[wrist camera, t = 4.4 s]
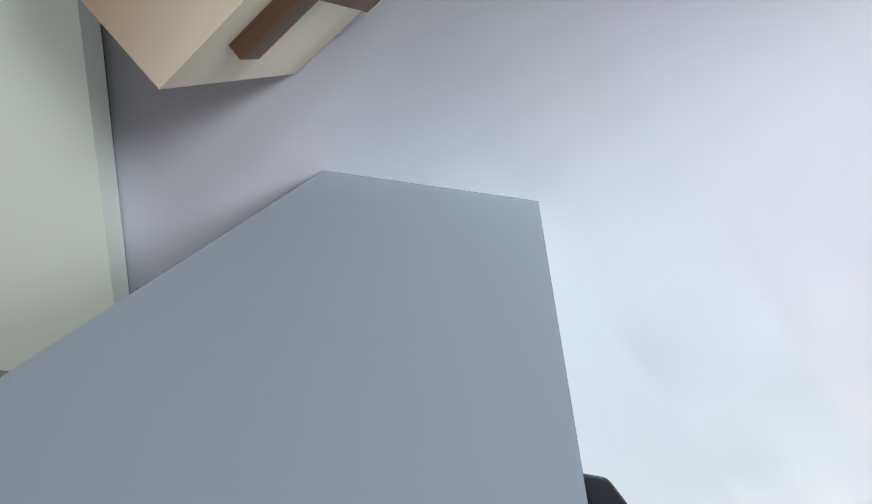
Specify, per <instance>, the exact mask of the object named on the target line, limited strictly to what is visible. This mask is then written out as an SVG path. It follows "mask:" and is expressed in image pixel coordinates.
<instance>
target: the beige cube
mask: <svg viewBox="0 0 872 504" xmlns="http://www.w3.org/2000/svg"><path fill="white" fill-rule="evenodd" d="M81 1H82V2H83V3H84V5H85V6H86V7H87V8H88V9H89V10H90V11H91V13H92V14H93V15H94V16H95V17H96V18H97V19H98V21H99V22H100V23H101V24H102V25H103V26H104V27H105V29H106V30H107V31H108V32H109V33H110V34H111V35H112V37H113V38H114V39H115V40H116V41H117V42H118V43H119V45H120V46H121V47H122V48H123V49H124V50H125V51H126V53H127V54H128V55H129V56H130V57H131V58H132V59H133V61H134V62H135V63H136V64H137V65H138V66H139V67H140V68H141V70H142V71H143V72H144V73H145V74H146V75H147V76H148V78H149V79H150V80H151V81H152V82H153V83H154V84H155V86H156V87H157V88H158V89H168V88H177V87H185V86H194V85H203V84H212V83H220V82H229V81H238V80H246V79H255V78H264V77H272V76H281V75H290V74H296V73H297V72H298V71H299V70H300V69H301V68H303V67H304V66H305V65H306V64H307V63H308V62H309V61H310V60H311V59H312V58H313V57H314V56H315V55H316V54H317V53H318V52H320V51H321V50H322V49H323V48H324V47H325V46H326V45H327V44H328V43H329V42H330V41H331V40H332V39H333V38H334V37H336V36H337V35H338V34H339V33H340V32H341V31H342V30H343V29H344V28H345V27H346V26H347V25H348V24H349V23H350V22H351V21H353V20H354V19H355V18H356V17H357V16H358V15H359V14H360V13H361V12H362V11H364V12H368V11H369V10H370V9H371V8H373V7H374V6H375V5H376V4H377V3H378V2H379V1H380V0H81Z"/></svg>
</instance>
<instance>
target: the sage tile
mask: <svg viewBox="0 0 872 504" xmlns="http://www.w3.org/2000/svg"><path fill="white" fill-rule="evenodd" d="M128 295H129V285H128V276H127V267H126V258H125V248H124V239H123V230H122V221H121V211H120V202H119V193H118V184H117V175H116V165H115V156H114V147H113V138H112V128H111V119H110V110H109V101H108V91H107V82H106V73H105V64H104V54H103V45H102V36H101V27H100V22H99V21H98V19H97V18H96V17H95V16H94V15H93V14H92V13H91V11H90V10H89V9H88V8H87V7H86V6H85V5H84V3H83V2H82V1H81V0H0V370H2V371H8V372H9V371H11V370H13V369H14V368H16V367H17V366H19V365H20V364H22V363H23V362H25V361H27V360H28V359H30V358H31V357H33V356H34V355H36V354H37V353H39V352H41V351H42V350H44V349H45V348H47V347H48V346H50V345H52V344H53V343H55V342H56V341H58V340H59V339H61V338H62V337H64V336H66V335H67V334H69V333H70V332H72V331H73V330H75V329H77V328H78V327H80V326H81V325H83V324H84V323H86V322H87V321H89V320H91V319H92V318H94V317H95V316H97V315H98V314H100V313H101V312H103V311H105V310H106V309H108V308H109V307H111V306H112V305H114V304H116V303H117V302H119V301H120V300H122V299H123V298H125V297H126V296H128Z"/></svg>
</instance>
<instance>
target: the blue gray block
mask: <svg viewBox="0 0 872 504" xmlns="http://www.w3.org/2000/svg"><path fill="white" fill-rule="evenodd" d="M0 504H588V501H587V495H586V489H585V483H584V477H583V471H582V465H581V459H580V453H579V446H578V440H577V434H576V428H575V422H574V416H573V410H572V404H571V398H570V392H569V386H568V380H567V374H566V367H565V361H564V355H563V349H562V343H561V337H560V331H559V325H558V319H557V313H556V307H555V301H554V295H553V289H552V282H551V276H550V270H549V264H548V258H547V252H546V246H545V240H544V234H543V228H542V222H541V216H540V210H539V204H538V201H533V200H526V199H519V198H512V197H505V196H498V195H491V194H484V193H477V192H470V191H463V190H456V189H449V188H442V187H435V186H428V185H421V184H414V183H407V182H400V181H393V180H385V179H378V178H371V177H364V176H357V175H350V174H343V173H336V172H329V171H322V172H320V173H318V174H317V175H315V176H314V177H312V178H311V179H309V180H308V181H306V182H304V183H303V184H301V185H300V186H298V187H297V188H295V189H293V190H292V191H290V192H289V193H287V194H286V195H284V196H283V197H281V198H279V199H278V200H276V201H275V202H273V203H272V204H270V205H268V206H267V207H265V208H264V209H262V210H261V211H259V212H258V213H256V214H254V215H253V216H251V217H250V218H248V219H247V220H245V221H244V222H242V223H240V224H239V225H237V226H236V227H234V228H233V229H231V230H229V231H228V232H226V233H225V234H223V235H222V236H220V237H219V238H217V239H215V240H214V241H212V242H211V243H209V244H208V245H206V246H204V247H203V248H201V249H200V250H198V251H197V252H195V253H194V254H192V255H190V256H189V257H187V258H186V259H184V260H183V261H181V262H180V263H178V264H176V265H175V266H173V267H172V268H170V269H169V270H167V271H165V272H164V273H162V274H161V275H159V276H158V277H156V278H155V279H153V280H151V281H150V282H148V283H147V284H145V285H144V286H142V287H141V288H139V289H137V290H136V291H134V292H133V293H131V294H130V295H128V296H126V297H125V298H123V299H122V300H120V301H119V302H117V303H116V304H114V305H112V306H111V307H109V308H108V309H106V310H105V311H103V312H101V313H100V314H98V315H97V316H95V317H94V318H92V319H91V320H89V321H87V322H86V323H84V324H83V325H81V326H80V327H78V328H77V329H75V330H73V331H72V332H70V333H69V334H67V335H66V336H64V337H62V338H61V339H59V340H58V341H56V342H55V343H53V344H52V345H50V346H48V347H47V348H45V349H44V350H42V351H41V352H39V353H37V354H36V355H34V356H33V357H31V358H30V359H28V360H27V361H25V362H23V363H22V364H20V365H19V366H17V367H16V368H14V369H13V370H11V371H9V372H8V373H6V374H5V375H3V376H2V377H0Z"/></svg>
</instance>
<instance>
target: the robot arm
mask: <svg viewBox="0 0 872 504" xmlns="http://www.w3.org/2000/svg"><path fill="white" fill-rule="evenodd" d="M583 477H584V483H585V489H586V495H587V501H588V504H627V503H626V501H625V500H624V499H623V497H622V496H621V495H620V493H619V492H618V491H617V490H616V488H615V487H614V486H613V484H612V483H611V482H610V481H609V480H608V479H606V478H604V477H600V476H594V475H589V474H584V473H583Z"/></svg>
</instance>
